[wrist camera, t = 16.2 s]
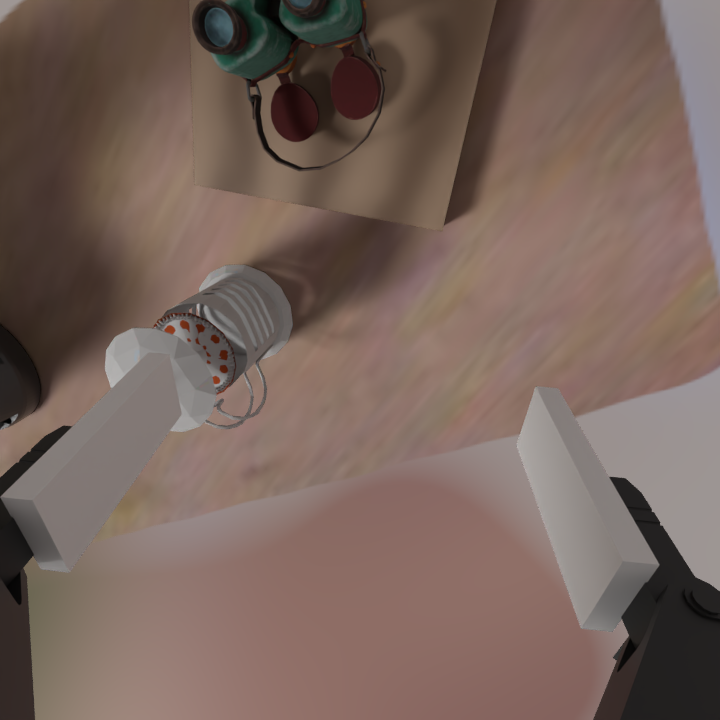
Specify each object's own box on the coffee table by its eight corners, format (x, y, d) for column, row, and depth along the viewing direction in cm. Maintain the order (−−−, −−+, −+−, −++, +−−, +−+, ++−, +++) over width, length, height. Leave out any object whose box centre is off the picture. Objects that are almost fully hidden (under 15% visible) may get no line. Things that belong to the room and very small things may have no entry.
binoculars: (242, 203, 24) (146, -18, 19) (294, 175, 33) (237, 19, 28) (395, 150, 21) (327, -119, 16) (406, 135, 30) (364, -43, 25)
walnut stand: (209, 183, 36) (194, 185, 33) (206, -70, 28) (186, -90, 26) (442, 226, 34) (442, 231, 32) (502, -32, 27) (508, -49, 24)
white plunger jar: (245, 242, 37) (-39, 368, 15) (324, 343, 40) (183, 570, 18) (177, 300, 41) (-130, 469, 19) (254, 388, 44) (66, 622, 22)
